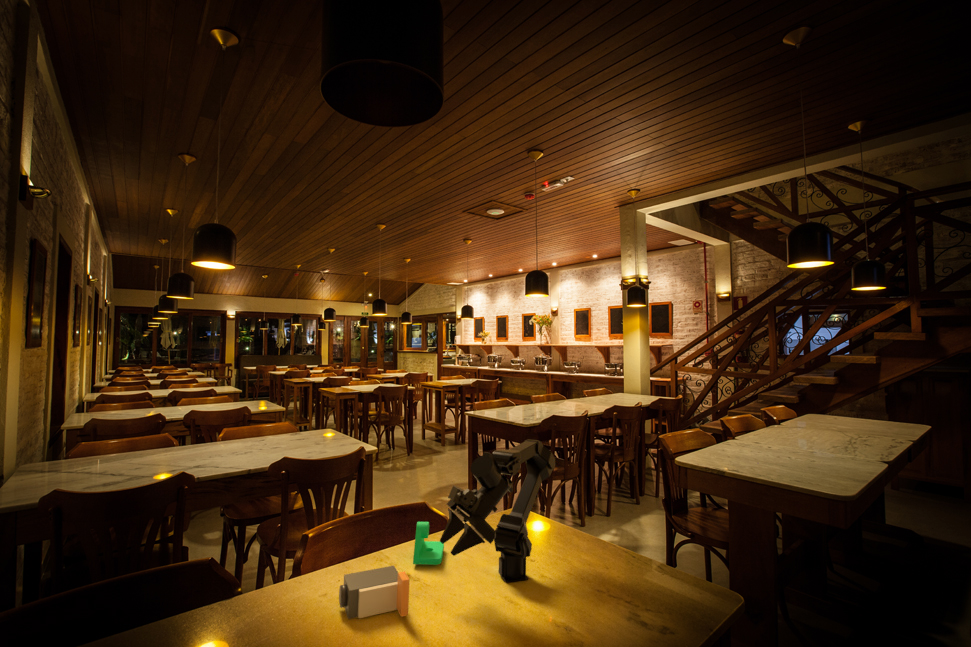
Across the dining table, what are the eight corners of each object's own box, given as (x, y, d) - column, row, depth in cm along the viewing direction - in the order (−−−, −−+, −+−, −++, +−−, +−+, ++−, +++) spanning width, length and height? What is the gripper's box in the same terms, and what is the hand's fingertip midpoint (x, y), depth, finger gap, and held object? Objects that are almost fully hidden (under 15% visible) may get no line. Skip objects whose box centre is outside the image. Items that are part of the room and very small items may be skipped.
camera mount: (440, 568, 120) (441, 530, 121) (412, 568, 120) (414, 529, 121) (444, 550, 132) (445, 515, 133) (419, 550, 132) (420, 515, 133)
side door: (401, 605, 100) (403, 569, 101) (408, 617, 95) (409, 579, 96) (357, 615, 96) (359, 577, 96) (361, 628, 91) (363, 588, 92)
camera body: (392, 590, 107) (393, 565, 108) (401, 607, 100) (402, 580, 101) (337, 602, 102) (338, 575, 102) (342, 621, 94) (343, 592, 95)
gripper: (455, 466, 115) (413, 514, 109) (485, 483, 98) (437, 541, 93) (481, 493, 118) (441, 542, 112) (514, 515, 101) (470, 573, 95)
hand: (446, 548), depth 103 cm, fingers open, 7 cm apart
